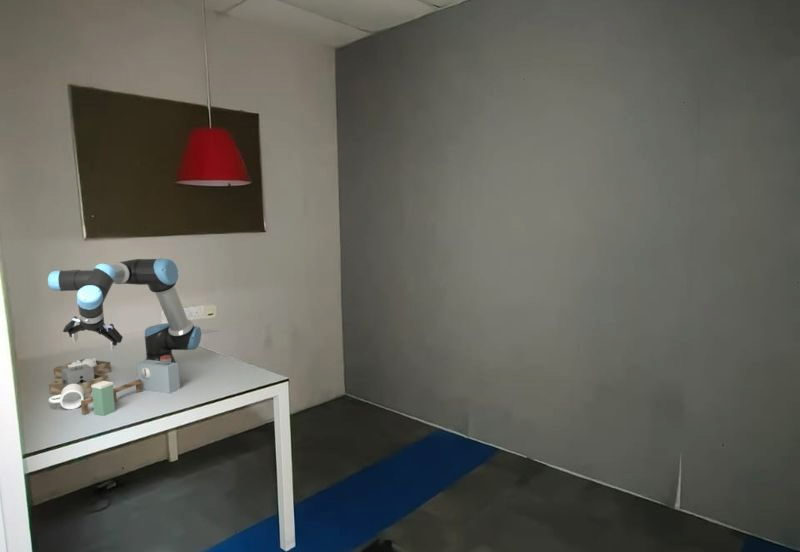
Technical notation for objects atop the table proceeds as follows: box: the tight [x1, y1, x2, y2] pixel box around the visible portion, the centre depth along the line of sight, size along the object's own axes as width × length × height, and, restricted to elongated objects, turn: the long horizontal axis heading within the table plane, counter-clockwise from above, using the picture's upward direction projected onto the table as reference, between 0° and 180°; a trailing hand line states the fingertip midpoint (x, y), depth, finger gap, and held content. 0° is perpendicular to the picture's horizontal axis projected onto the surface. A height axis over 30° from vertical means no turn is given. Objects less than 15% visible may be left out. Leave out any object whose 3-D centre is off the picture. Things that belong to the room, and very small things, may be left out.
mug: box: [48, 384, 85, 411], centre depth 199 cm, size 12×10×8 cm
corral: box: [48, 358, 112, 396], centre depth 229 cm, size 32×36×5 cm
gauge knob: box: [160, 355, 171, 365], centre depth 215 cm, size 3×3×3 cm
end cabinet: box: [136, 359, 181, 394], centre depth 217 cm, size 7×18×12 cm, turn 70°
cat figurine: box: [68, 357, 97, 368], centre depth 241 cm, size 9×11×12 cm
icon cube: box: [61, 364, 94, 385], centre depth 218 cm, size 10×10×10 cm
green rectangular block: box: [91, 380, 116, 417], centre depth 191 cm, size 5×5×12 cm
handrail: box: [80, 378, 143, 416], centre depth 203 cm, size 27×2×6 cm, turn 160°
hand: (94, 344), depth 194 cm, fingers open, 13 cm apart
